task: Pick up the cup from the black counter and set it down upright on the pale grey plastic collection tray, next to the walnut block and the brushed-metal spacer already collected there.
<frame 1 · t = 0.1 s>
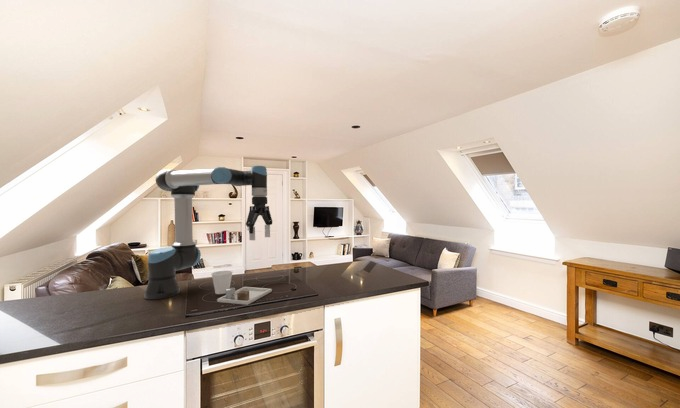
hand: (260, 238, 143), 28 cm above the worktop, fingers open, 13 cm apart
tray: (245, 298, 135), on the worktop
walnut block: (243, 300, 129), point 1 cm above the worktop, touching tray
metal spacer: (230, 299, 131), point 1 cm above the worktop, touching tray
cup: (222, 294, 143), on the worktop
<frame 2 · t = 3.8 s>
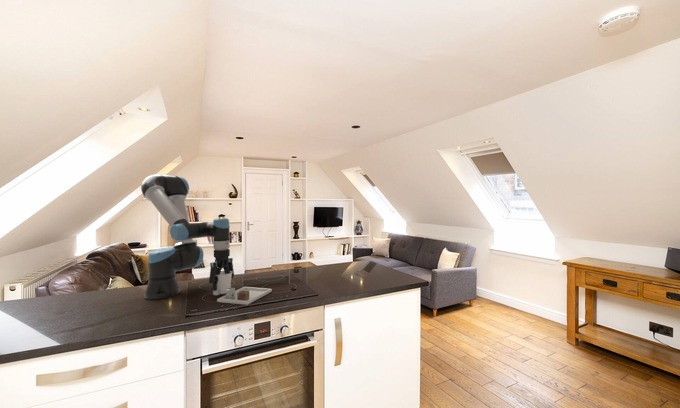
hand: (222, 293, 143), 0 cm above the worktop, fingers closed on cup, 8 cm apart
cup: (222, 294, 143), on the worktop, touching gripper
everything else where it was.
when the fingers open (3 cm above the worktop, at t = 9.3 s): cup drops 2 cm, resting on tray.
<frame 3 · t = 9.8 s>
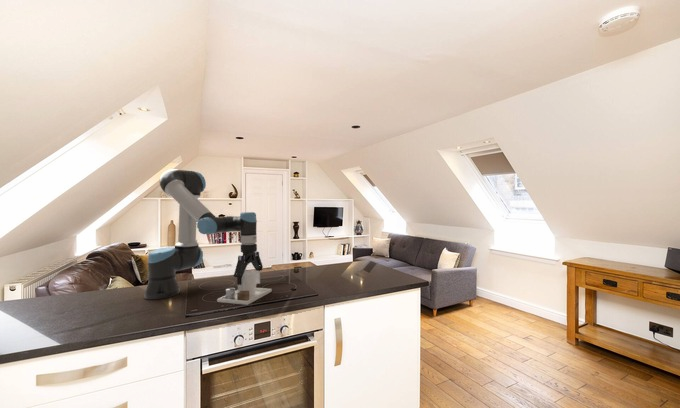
hand: (249, 287, 138), 5 cm above the worktop, fingers open, 13 cm apart
cup: (248, 295, 137), point 1 cm above the worktop, touching tray
everything else where it was.
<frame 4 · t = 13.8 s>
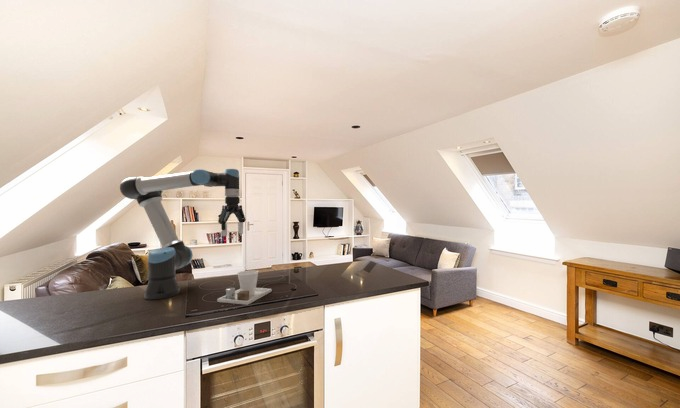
hand: (232, 234, 158), 29 cm above the worktop, fingers open, 13 cm apart
nothing on the worktop moved.
at the end: cup inside the target area on the tray (1.3 cm from its centre), point 1.0 cm above the tray's base; cup tilted 0°; the gripper is holding nothing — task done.
